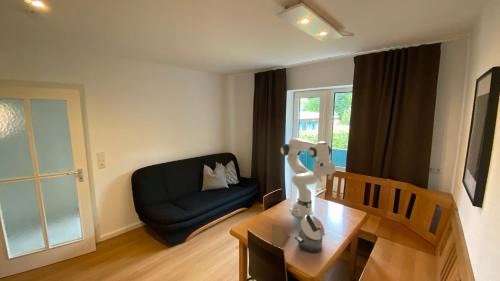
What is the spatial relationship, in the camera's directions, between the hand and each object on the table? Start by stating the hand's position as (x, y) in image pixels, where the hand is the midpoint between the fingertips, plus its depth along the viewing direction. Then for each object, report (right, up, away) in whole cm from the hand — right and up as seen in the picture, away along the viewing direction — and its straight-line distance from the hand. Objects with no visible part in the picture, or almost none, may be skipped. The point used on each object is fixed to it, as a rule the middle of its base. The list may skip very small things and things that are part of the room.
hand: (325, 180), depth 162 cm
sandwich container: (-35, -43, -8) cm, 56 cm away
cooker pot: (-16, -43, -16) cm, 49 cm away
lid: (-16, -29, -19) cm, 38 cm away
